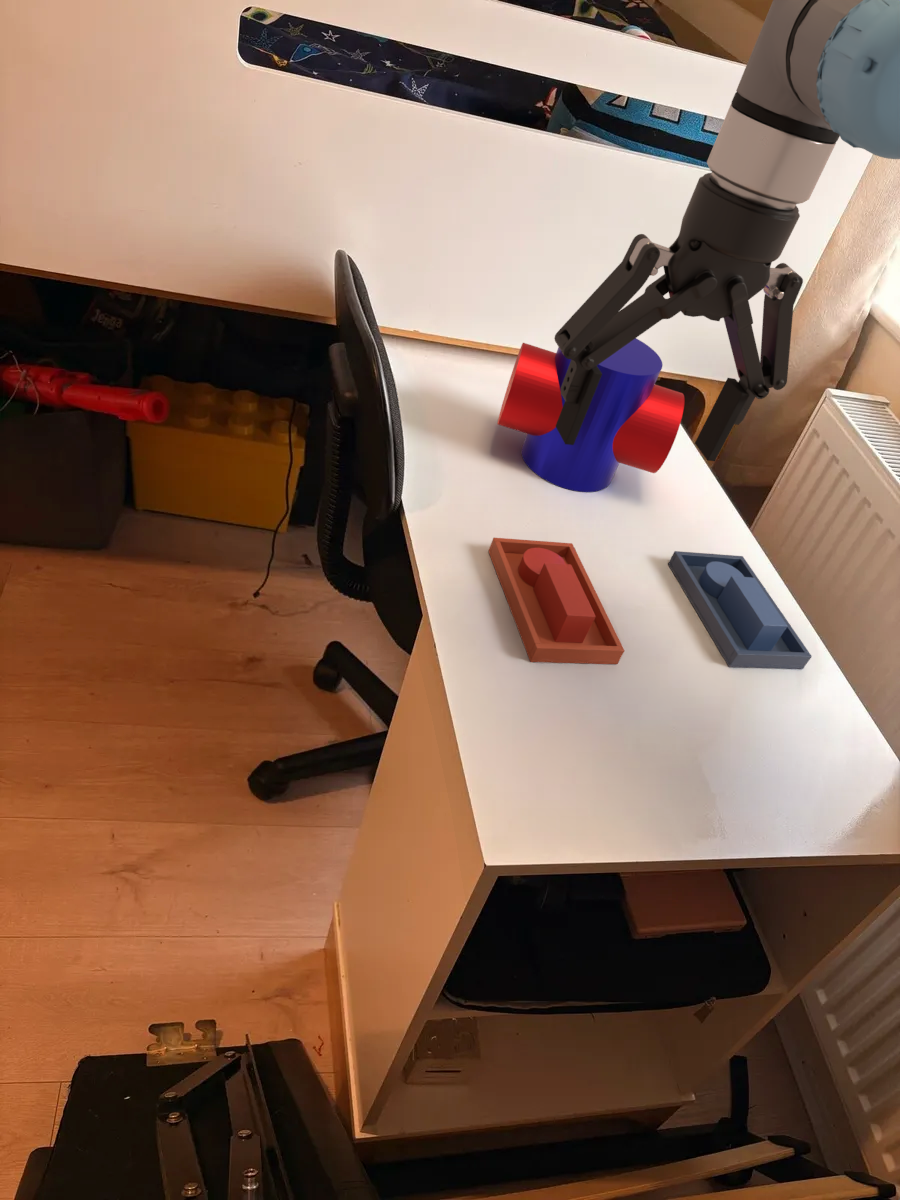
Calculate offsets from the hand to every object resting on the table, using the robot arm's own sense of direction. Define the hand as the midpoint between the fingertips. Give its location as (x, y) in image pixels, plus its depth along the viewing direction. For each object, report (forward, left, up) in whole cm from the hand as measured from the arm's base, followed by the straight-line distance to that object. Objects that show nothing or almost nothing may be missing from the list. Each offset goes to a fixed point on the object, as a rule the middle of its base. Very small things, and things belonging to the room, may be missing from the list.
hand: (636, 444), depth 76 cm
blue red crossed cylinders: (+29, -11, -21) cm, 38 cm away
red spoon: (+2, 0, -20) cm, 20 cm away
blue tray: (+2, -22, -21) cm, 30 cm away
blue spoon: (+2, -22, -20) cm, 30 cm away
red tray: (+2, 0, -21) cm, 21 cm away
